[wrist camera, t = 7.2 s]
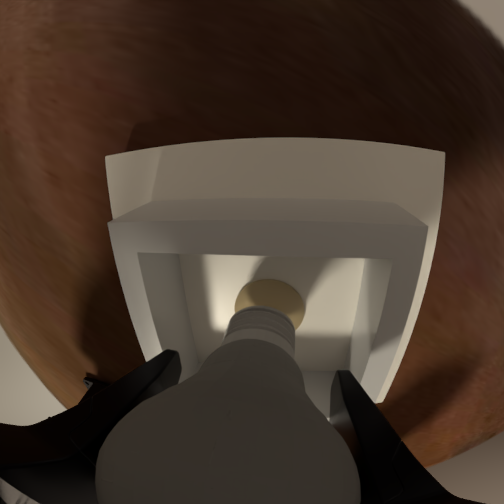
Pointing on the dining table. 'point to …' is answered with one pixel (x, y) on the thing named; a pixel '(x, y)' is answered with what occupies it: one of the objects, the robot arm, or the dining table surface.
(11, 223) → the dining table surface
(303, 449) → the light bulb
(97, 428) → the robot arm
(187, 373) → the socket base
